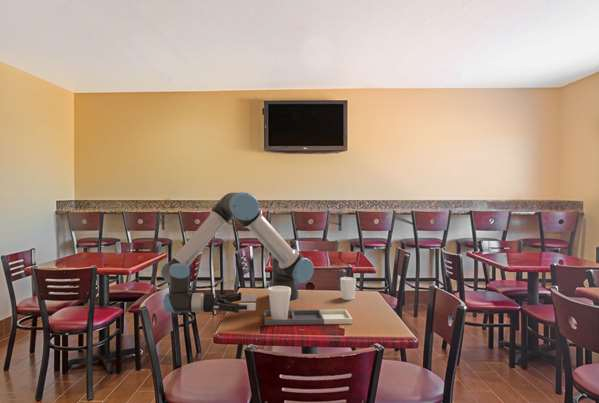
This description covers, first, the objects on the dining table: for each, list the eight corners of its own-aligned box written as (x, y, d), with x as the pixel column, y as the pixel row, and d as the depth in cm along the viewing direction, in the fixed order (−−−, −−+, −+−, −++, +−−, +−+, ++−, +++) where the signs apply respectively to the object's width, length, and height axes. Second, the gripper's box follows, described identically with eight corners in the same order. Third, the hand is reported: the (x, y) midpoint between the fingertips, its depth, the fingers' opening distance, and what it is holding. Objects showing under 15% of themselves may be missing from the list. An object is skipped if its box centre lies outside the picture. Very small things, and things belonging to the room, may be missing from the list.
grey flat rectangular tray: (264, 325, 158) (264, 320, 158) (264, 315, 171) (264, 310, 171) (352, 323, 161) (352, 318, 161) (345, 313, 174) (345, 309, 174)
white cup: (337, 299, 199) (337, 279, 199) (343, 295, 206) (343, 276, 206) (352, 301, 195) (352, 280, 195) (357, 297, 202) (358, 278, 202)
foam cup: (291, 316, 169) (292, 286, 169) (289, 323, 160) (289, 291, 160) (269, 315, 170) (270, 285, 170) (265, 322, 161) (266, 290, 161)
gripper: (207, 303, 175) (256, 302, 177) (198, 321, 150) (255, 320, 152) (208, 286, 175) (256, 286, 176) (198, 301, 150) (255, 300, 152)
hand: (256, 302), depth 164 cm, fingers open, 13 cm apart
